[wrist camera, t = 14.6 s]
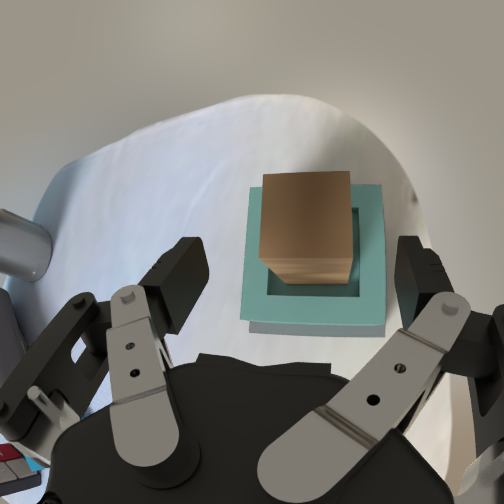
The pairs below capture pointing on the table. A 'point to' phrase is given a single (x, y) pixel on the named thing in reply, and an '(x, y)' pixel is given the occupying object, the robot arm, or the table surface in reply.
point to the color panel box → (15, 472)
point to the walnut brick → (307, 227)
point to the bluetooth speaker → (9, 338)
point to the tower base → (321, 296)
